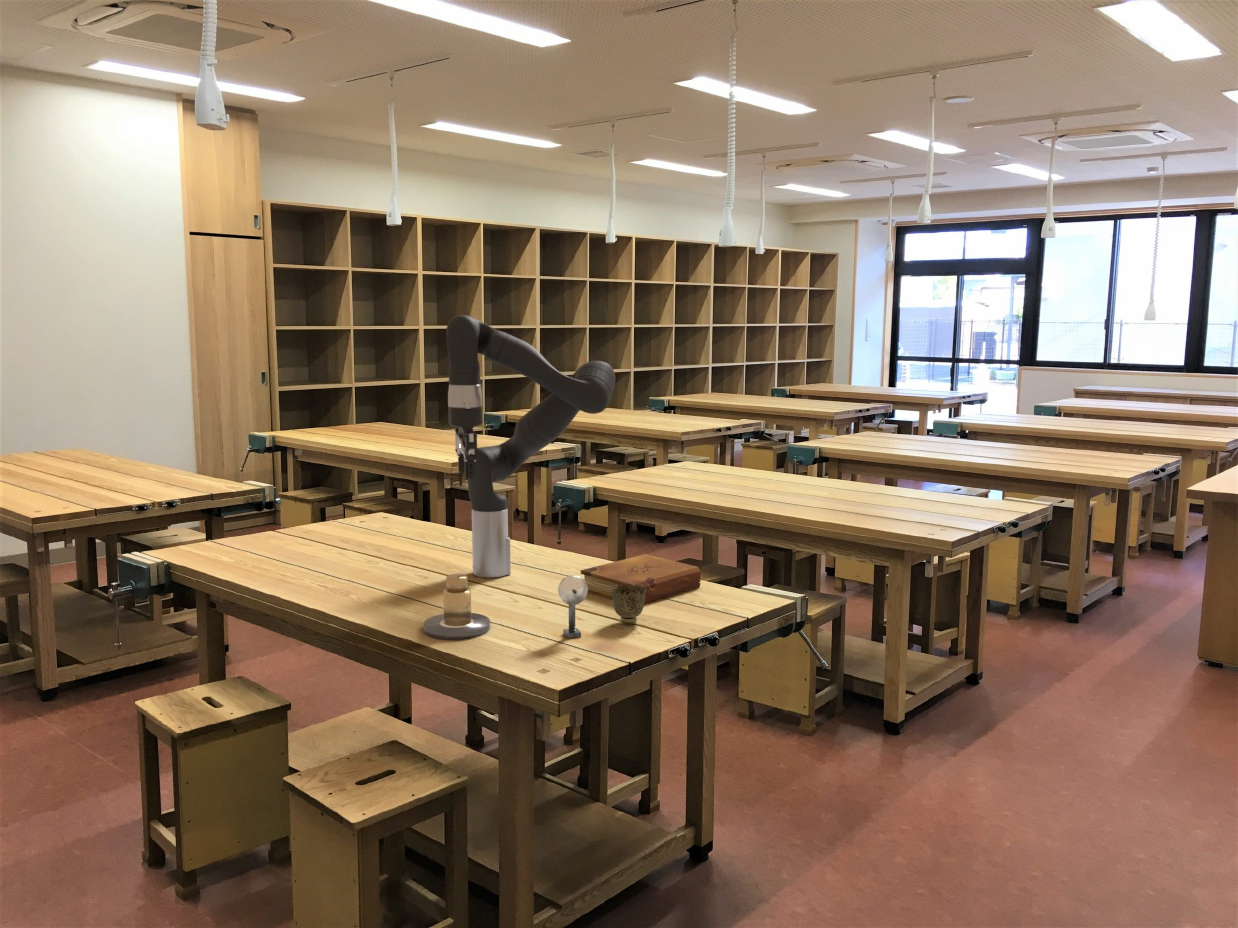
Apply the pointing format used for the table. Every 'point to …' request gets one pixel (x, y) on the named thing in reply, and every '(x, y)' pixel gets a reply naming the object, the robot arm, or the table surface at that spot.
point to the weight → (457, 601)
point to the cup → (628, 602)
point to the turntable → (456, 628)
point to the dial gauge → (572, 600)
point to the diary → (643, 577)
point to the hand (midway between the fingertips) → (466, 475)
